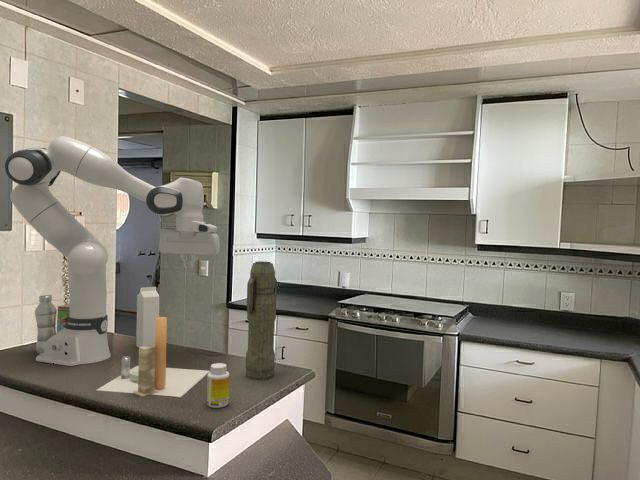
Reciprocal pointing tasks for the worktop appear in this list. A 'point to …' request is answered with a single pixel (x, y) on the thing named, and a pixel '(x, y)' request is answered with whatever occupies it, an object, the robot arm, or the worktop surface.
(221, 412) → the worktop surface
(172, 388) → the base board
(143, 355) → the post
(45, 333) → the plastic bottle
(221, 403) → the supplement bottle
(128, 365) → the post
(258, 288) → the thermos
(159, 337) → the orange upright dowel
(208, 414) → the worktop surface
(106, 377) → the worktop surface
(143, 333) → the milk
